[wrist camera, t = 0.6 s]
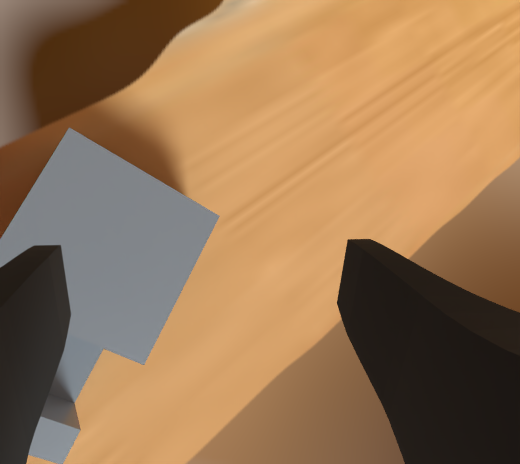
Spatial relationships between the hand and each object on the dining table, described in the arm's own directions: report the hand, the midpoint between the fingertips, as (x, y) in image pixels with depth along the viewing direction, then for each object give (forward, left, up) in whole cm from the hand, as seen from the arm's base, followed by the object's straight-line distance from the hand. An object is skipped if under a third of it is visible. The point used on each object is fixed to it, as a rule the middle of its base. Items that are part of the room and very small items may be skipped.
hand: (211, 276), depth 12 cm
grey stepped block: (-3, 0, -23) cm, 23 cm away
